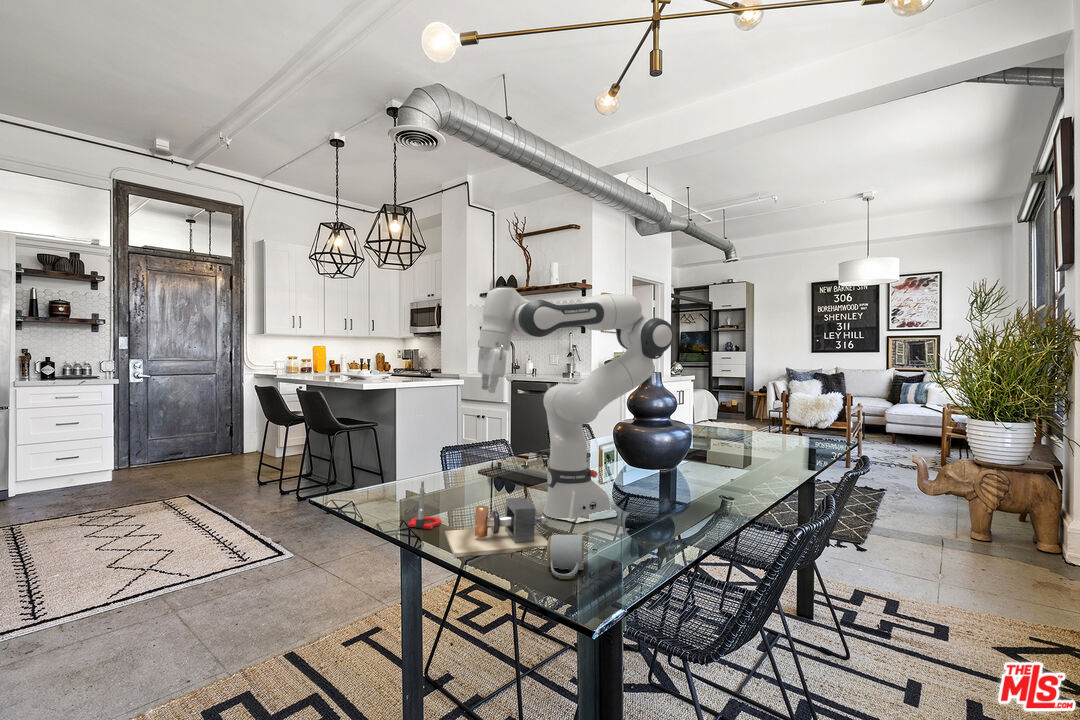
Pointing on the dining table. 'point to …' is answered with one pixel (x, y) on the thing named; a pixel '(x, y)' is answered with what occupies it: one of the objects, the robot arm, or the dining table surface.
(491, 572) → the dining table surface
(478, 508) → the flanged metal rod
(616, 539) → the dining table surface
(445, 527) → the dining table surface
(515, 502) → the eye bracket
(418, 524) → the tow hook
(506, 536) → the base board
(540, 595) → the dining table surface
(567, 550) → the ceramic mug
